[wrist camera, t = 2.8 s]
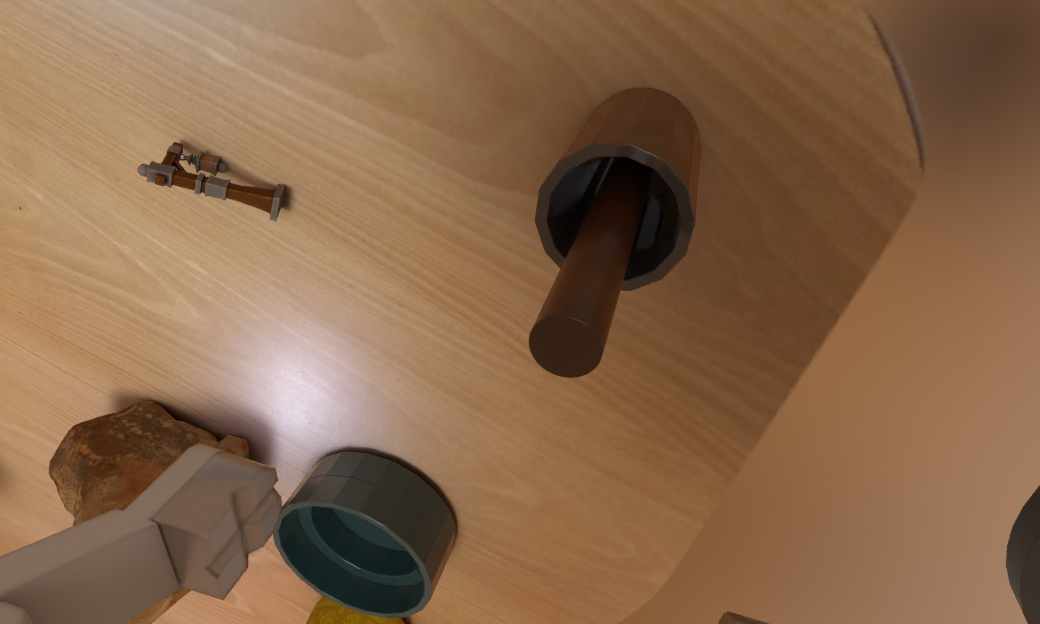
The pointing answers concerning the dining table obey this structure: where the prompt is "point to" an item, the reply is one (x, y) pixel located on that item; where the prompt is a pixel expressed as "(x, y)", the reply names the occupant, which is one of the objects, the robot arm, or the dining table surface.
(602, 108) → the holder
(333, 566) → the bowl
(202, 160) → the wooden lamp post
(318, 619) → the mug
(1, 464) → the dining table surface
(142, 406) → the orange rock
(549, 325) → the stick
